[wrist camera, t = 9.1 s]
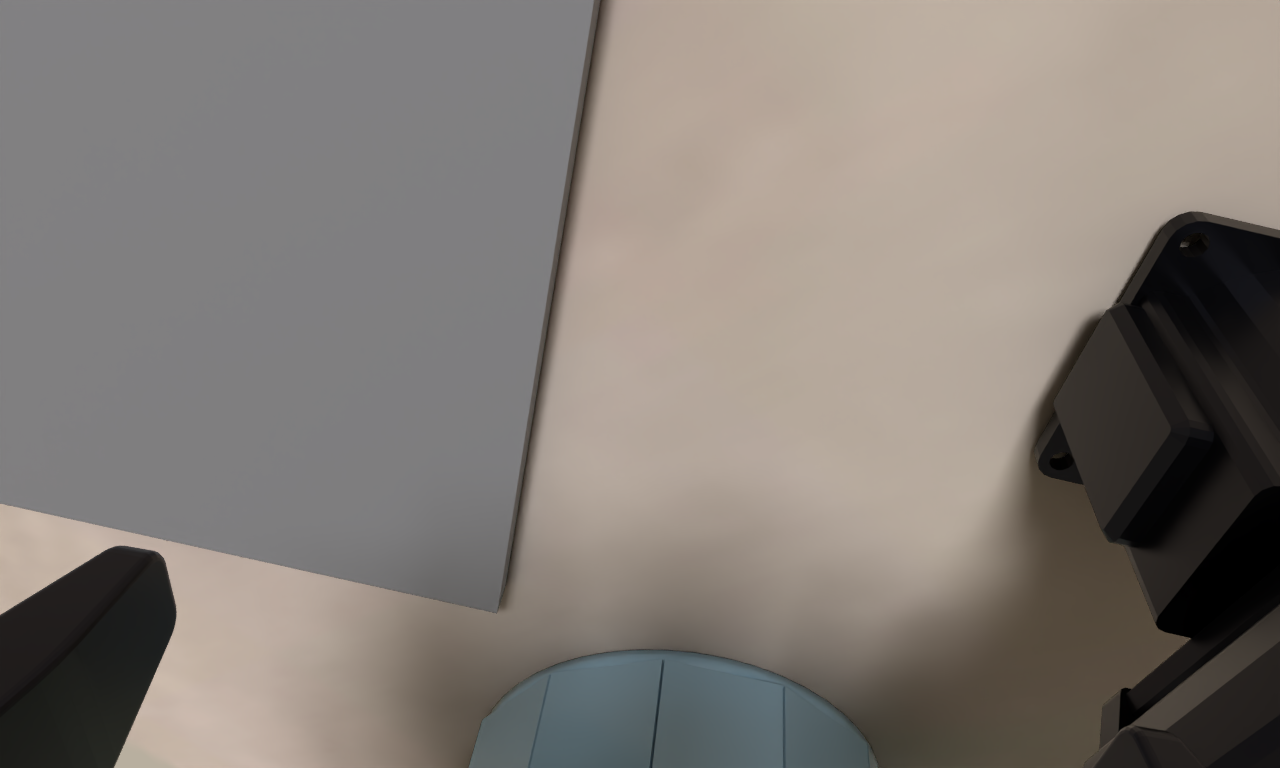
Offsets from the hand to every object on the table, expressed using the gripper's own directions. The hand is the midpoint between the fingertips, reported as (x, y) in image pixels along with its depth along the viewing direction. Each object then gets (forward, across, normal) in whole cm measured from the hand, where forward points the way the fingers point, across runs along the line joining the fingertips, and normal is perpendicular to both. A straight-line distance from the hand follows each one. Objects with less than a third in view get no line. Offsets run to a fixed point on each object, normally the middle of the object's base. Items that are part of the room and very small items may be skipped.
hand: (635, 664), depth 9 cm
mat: (+12, +11, +4) cm, 17 cm away
